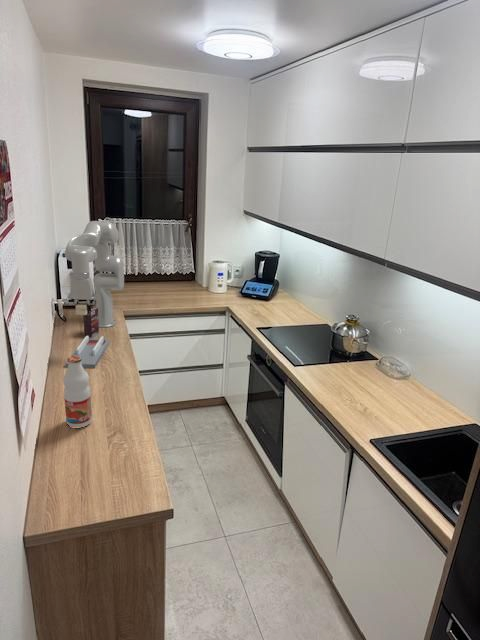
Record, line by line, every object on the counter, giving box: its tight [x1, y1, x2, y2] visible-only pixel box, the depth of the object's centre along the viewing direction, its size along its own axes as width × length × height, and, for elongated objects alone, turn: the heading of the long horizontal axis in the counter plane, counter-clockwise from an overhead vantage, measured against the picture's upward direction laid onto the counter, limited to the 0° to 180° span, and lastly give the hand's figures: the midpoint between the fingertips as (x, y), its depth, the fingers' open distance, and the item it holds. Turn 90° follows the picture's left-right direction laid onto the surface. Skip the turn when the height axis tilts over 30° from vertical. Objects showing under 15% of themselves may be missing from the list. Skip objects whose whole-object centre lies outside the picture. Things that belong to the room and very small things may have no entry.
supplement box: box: [82, 306, 100, 339], centre depth 247 cm, size 9×5×16 cm, turn 168°
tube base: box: [65, 335, 111, 369], centre depth 226 cm, size 31×14×5 cm, turn 3°
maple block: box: [75, 301, 88, 316], centre depth 212 cm, size 6×4×4 cm
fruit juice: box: [62, 354, 93, 427], centre depth 166 cm, size 9×9×28 cm
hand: (83, 311), depth 214 cm, fingers closed on maple block, 4 cm apart
